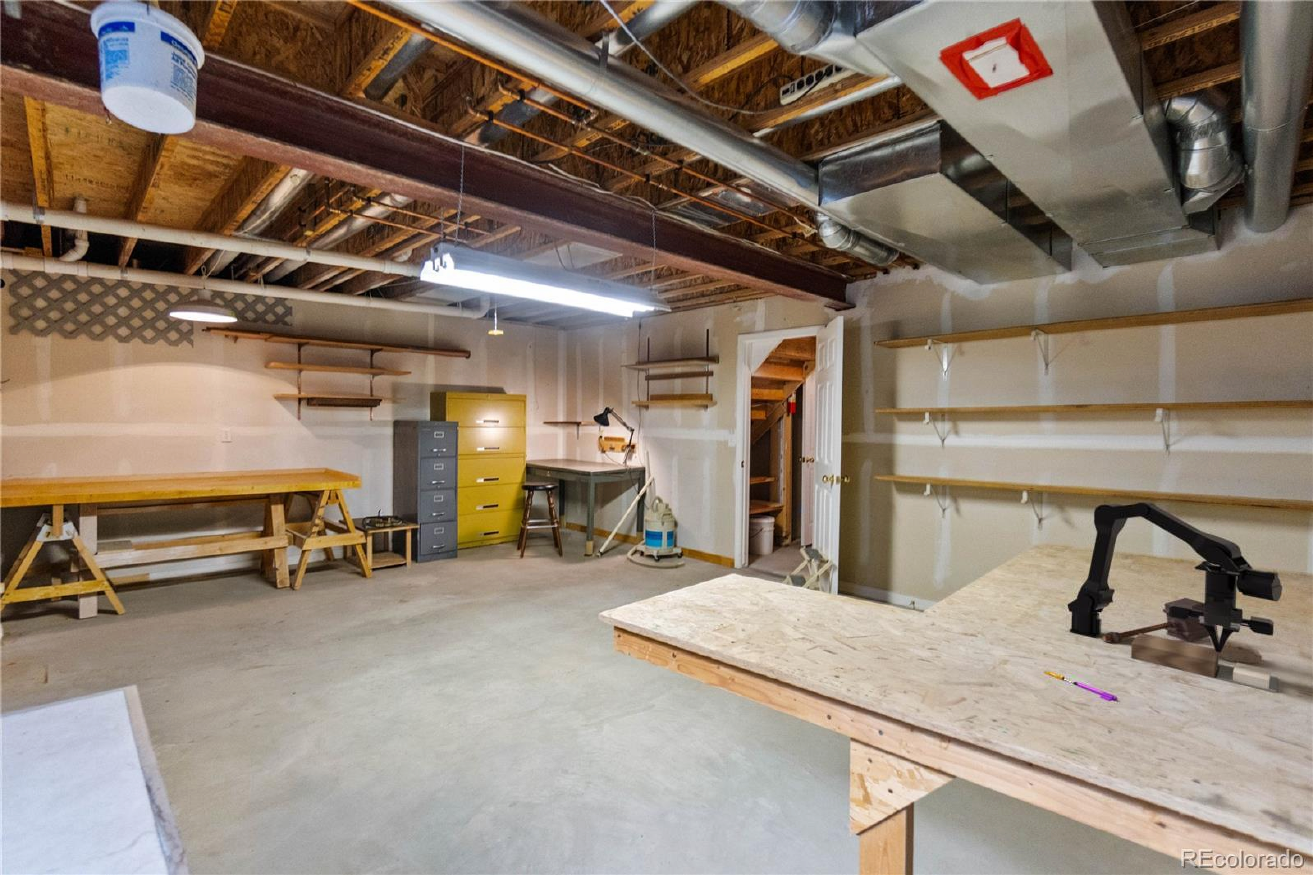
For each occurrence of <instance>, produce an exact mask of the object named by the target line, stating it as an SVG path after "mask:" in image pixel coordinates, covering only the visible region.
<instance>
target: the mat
mask: <svg viewBox="0 0 1313 875" xmlns="http://www.w3.org/2000/svg"><path fill="white" fill-rule="evenodd" d="M1234 668H1235V666H1234V667H1233V666H1230V665H1225V664H1220V667H1219V669H1218V673H1217V675H1216V679H1217V680H1221V681H1225V682H1229V683H1234V684H1238V685H1242V686H1245V687H1251V688H1254V689H1259V690H1262V691H1267V692H1270V693H1275V694H1276V693H1277V688H1278V686H1277V685H1278V677H1277V676H1273V675H1271V679H1270V684H1269V689H1267V688H1263V687H1259V686H1255V685H1251V684H1247V683H1243V682H1238V681H1234V680H1233V671H1234Z"/></svg>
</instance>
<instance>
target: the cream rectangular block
mask: <svg viewBox="0 0 1313 875" xmlns="http://www.w3.org/2000/svg"><path fill="white" fill-rule="evenodd" d="M1271 676H1272V670H1271V669H1267V668H1263V667H1260V666H1258V667H1257V666H1254V665H1251V664H1250V665H1249V664H1247V663H1242V662H1235V665H1234V671H1233V680H1234V681H1238V682H1243V683H1247V684H1251V685H1255V686H1259V687H1263V688H1267V689H1269V684H1270V679H1271Z"/></svg>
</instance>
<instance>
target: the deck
mask: <svg viewBox="0 0 1313 875" xmlns="http://www.w3.org/2000/svg"><path fill="white" fill-rule="evenodd" d="M1130 650H1131V655H1130V659H1134V660H1139V661H1142V662H1146V663H1151V664H1154V665H1158V666H1164V667H1166V668H1167V667H1168V668H1172V669H1176V670H1180V671H1185V672H1189V673H1191V674H1196V675H1200V676H1204V677H1208V678H1213V679H1214V678H1215V676H1216V673H1217V671H1218V667H1219V660H1220V659H1219V652H1216V650H1215V649H1214V648H1212V647H1207V646H1204V645H1198V644H1193V643H1190V642H1186V641H1180V640H1175V639H1170V638H1166V637H1161V636H1157V635H1151V634H1149V633H1144V634H1143V633H1139V635H1136V637H1135V639H1134V640H1133V641H1132V642H1131V649H1130Z"/></svg>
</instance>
